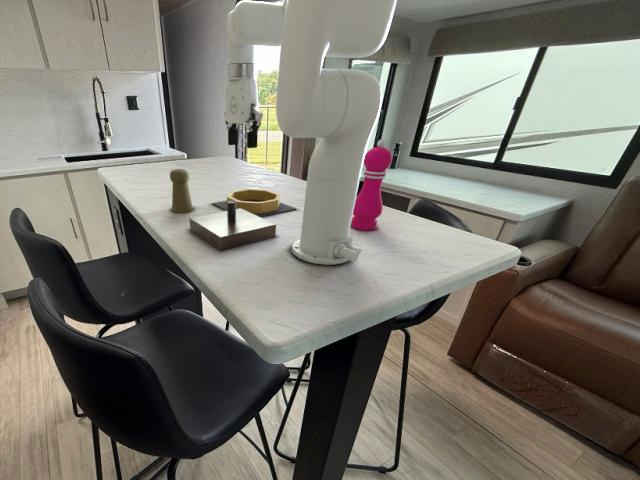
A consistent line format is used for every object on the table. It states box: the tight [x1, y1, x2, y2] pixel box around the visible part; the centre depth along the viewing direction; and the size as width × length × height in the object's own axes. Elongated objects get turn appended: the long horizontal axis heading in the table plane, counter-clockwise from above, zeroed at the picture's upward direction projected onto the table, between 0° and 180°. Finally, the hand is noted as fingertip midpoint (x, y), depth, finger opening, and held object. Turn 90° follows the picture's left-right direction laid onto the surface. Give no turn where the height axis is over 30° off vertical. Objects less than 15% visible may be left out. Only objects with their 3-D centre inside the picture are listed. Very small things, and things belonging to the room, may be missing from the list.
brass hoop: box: [226, 188, 281, 214], centre depth 95 cm, size 15×15×3 cm
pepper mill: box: [350, 139, 393, 231], centre depth 76 cm, size 7×7×20 cm
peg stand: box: [189, 201, 277, 251], centre depth 75 cm, size 15×15×8 cm
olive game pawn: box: [169, 168, 194, 214], centre depth 90 cm, size 6×6×11 cm
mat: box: [212, 199, 297, 218], centre depth 96 cm, size 18×18×1 cm
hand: (242, 146), depth 92 cm, fingers open, 9 cm apart
